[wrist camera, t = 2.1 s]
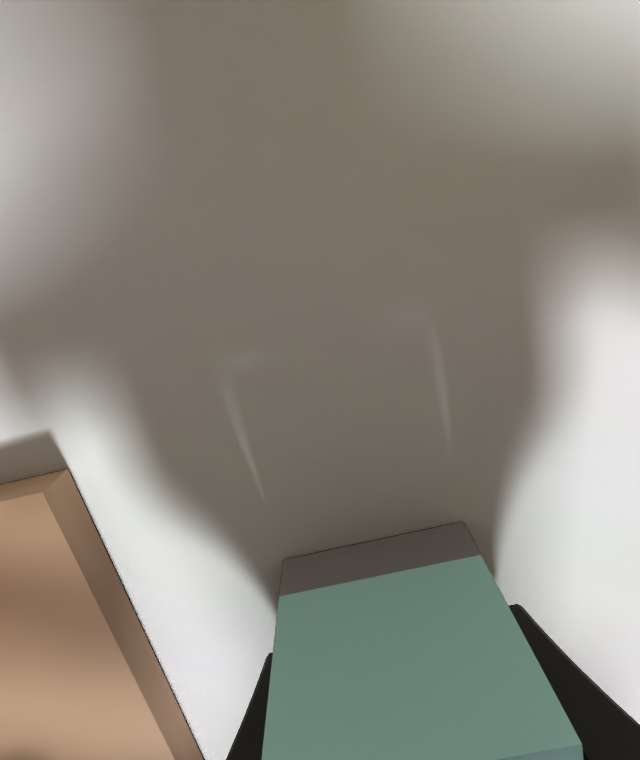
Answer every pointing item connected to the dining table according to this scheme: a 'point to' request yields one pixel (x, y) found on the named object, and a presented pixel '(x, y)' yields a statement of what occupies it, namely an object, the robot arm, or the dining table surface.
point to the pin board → (74, 641)
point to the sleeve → (406, 659)
